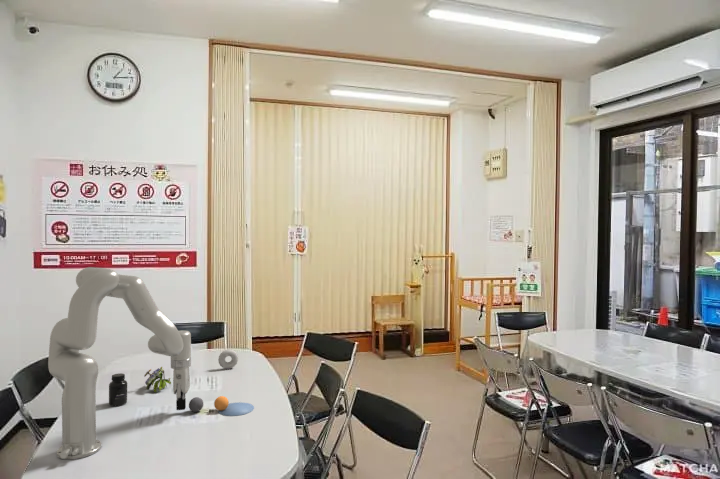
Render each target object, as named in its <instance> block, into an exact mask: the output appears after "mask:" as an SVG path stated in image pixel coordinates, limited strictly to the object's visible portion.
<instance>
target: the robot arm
mask: <svg viewBox="0 0 720 479" xmlns="http://www.w3.org/2000/svg"><path fill="white" fill-rule="evenodd" d="M75 284H76V286H77V287H78V288H77V289H76V291H74V293H73V294H72V296H71V298H70V302H69V306H68V312H67V317H66V318H62V319H60V320H59V321H57V322H56V323H55V324H54V326H53V327H52V330H51V333H50V337H49V349H48V361H47V365H48V367H47V368H48V371H49V372H48V373H50V375H51V376H52V377H53V378H54V379H55V378H56V379H57V380H60V381H63V382H64V387H63V391H62V394H61V395H62V396H61V429H62V430H61V435H62V438H61V440H62V443H61V446H59V448H58V449H56V456H57V458H58V459H60V460H61V459H62V460H76V459H83V458H86V457H89V456H91V455H93V454H96V453H97V452H98V451H99V450H100V449H101V448H102V441H101V440H98V439H97V418H96V417H97V413H96V412H97V410H96V409H97V408H96V407H97V406H96V404H97V403H96V397H97V396H96V395H97V393H96V389H97V388H96V387H97V381H98V377H99V376H98V375H99V365H98V362H97V360H96V359H95V358H93V357H92V356H90V355H89V354H87V353H83V352H80V351H85V350H88V349H89V348H91V347H93V346H94V344H95V342H96V339H97V333H98V332H97V330H98V318H99V317H98V316H99V308H100V305H101V303H102V302H103V300H104V299H105V297H110V298H116V299H122V300H123V301H124V303H125V305H126V306H127V308H128V310H129V312H130V313H131V315H132V316H133V318H134V320H135V321H136V323H138V324H139V325H141V326H143V328H145V329H147V330H149V331H151V332H152V333H153V334H154V335H153V334H152V336H151V337H150V338H149V339H148V341H147V347H148V349H149V351H151V352H152V353H154V354H158V355H163V356H167V357H170V368H171V369H173V375H172V376H173V378H172V380H173V382H172V383H173V384H172V386H173V387H172V388H173V389H172V391H173V394H174V395H176V400H175V401H176V404H175V406H176V407H175V409H176V411H185V409H186V403H187V402H186V395H187V393H188V392H189V390H190V387H191V382H190V381H191V380H190V367H192V339H191V338H192V334H191V332H190V331H189V330H182V329H181V330H178V328H177V326H176V325H175V324H174V323H173V322H172V320H170V318H168V317H167V315H165V313H164V312H163V311H161V310H160V309H159V307H158V306H157V304H156V302H155V301H154V299H153V297H152V294H151V292H150V291H149V289H148V288H147V286H146V284H145V282H144V281H143V279H141V278H140V277H138V276H135V275H127V274H118V273H117V271H115V270H114V269H110V268H106V267H105V268H103V267H91V266H90V267H89V266H88V267H85V268H82V269H81V270H80V271H79V272H78V273H77V275H76V276H75Z"/></svg>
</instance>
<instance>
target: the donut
mask: <svg viewBox="0 0 720 479" xmlns="http://www.w3.org/2000/svg"><path fill="white" fill-rule="evenodd" d="M227 357H230V358H231V360H230V361H226V358H227ZM238 361H239V356H238V353H237V352H236V351H235V350H233V349H228V348H227V349H225V350H223V351H221V353H220V354H219V356H218V364H219V366H220V367H221V368H223V369H226V370H227V369H228V370H230V369H232V368H234V367H235V366H236V365H237V364H238Z"/></svg>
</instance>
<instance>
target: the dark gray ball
mask: <svg viewBox="0 0 720 479" xmlns="http://www.w3.org/2000/svg"><path fill="white" fill-rule="evenodd" d="M203 407H204V401H203V399H202V398H201V397H198V396H197V397H193V398H192V399H190V401H189V403H188V408H189V410H190V411H192V412H194V413H197V412H198V413H199V412H201V410H202V409H203Z"/></svg>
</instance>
